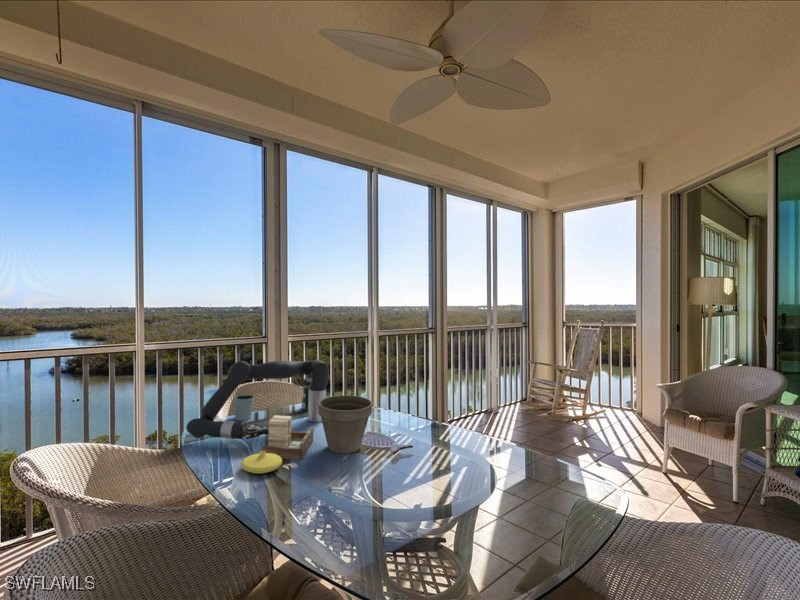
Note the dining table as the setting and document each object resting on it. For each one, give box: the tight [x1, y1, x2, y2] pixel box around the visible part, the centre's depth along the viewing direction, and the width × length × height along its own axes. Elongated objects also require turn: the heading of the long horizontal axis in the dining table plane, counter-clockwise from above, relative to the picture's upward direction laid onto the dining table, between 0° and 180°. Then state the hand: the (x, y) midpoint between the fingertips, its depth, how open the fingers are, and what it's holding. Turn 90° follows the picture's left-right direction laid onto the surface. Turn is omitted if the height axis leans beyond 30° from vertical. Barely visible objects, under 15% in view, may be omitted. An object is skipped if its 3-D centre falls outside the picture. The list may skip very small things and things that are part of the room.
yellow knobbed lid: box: [240, 450, 283, 475], centre depth 167 cm, size 16×16×7 cm
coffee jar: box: [301, 377, 312, 411], centre depth 250 cm, size 10×8×19 cm
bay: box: [260, 426, 315, 461], centre depth 188 cm, size 21×18×7 cm
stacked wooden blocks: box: [267, 414, 293, 447], centre depth 188 cm, size 8×8×12 cm
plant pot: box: [318, 394, 373, 455], centre depth 193 cm, size 25×25×22 cm
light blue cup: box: [233, 394, 255, 422], centre depth 226 cm, size 10×10×12 cm
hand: (271, 432), depth 188 cm, fingers closed
